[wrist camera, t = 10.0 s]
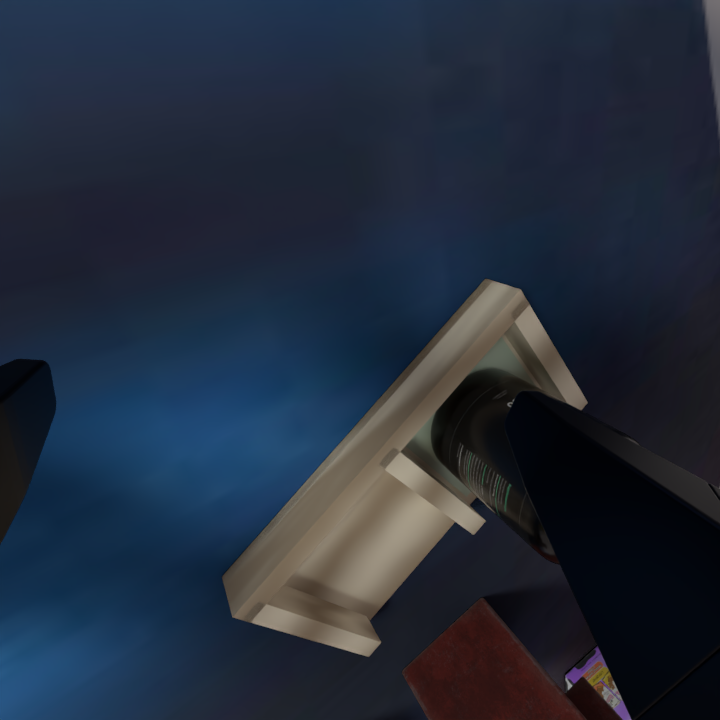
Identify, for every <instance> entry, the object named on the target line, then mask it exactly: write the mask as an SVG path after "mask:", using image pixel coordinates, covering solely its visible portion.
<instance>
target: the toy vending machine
mask: <svg viewBox="0 0 720 720" xmlns="http://www.w3.org/2000/svg"><path fill="white" fill-rule="evenodd" d="M402 674H403V676H404V677H405V679H406V681H407V683H408V685H409V686H410V688H411V690H412V692H413V693H414V695H415V697H416V699H417V701H418V702H419V704H420V706H421V708H422V709H423V711H424V713H425V715H426V717H427V718H428V720H623V719H622V718H621V717H620V716H619V715H618V714H617V713H616V712H615V710H614V709H613V708H612V707H611V706H610V705H609V704H608V703H607V702H606V701H605V699H604V698H603V697H602V696H601V695H600V694H599V693H598V692H597V691H596V690H595V689H594V687H593V686H592V685H591V684H590V683H589V682H588V681H587V680H586V679H585V678H584V677H583V676H582V677H581V678H580V679H579V680H578V681H577V682H576V683H575V684H574V685H573V686H572V687H571V688H570V689H569V690H568V691H567V692H566V693H564V692H563V691H562V690H561V688H560V687H559V686H558V685H557V684H556V683H555V681H554V680H553V679H552V678H551V677H550V676H549V674H548V673H547V672H546V671H545V670H544V668H543V667H542V666H541V665H540V664H539V663H538V661H537V660H536V659H535V658H534V657H533V655H532V654H531V653H530V652H529V651H528V650H527V648H526V647H525V646H524V645H523V644H522V643H521V641H520V640H519V639H518V638H517V637H516V635H515V634H514V633H513V632H512V631H511V630H510V628H509V627H508V626H507V625H506V624H505V622H504V621H503V620H502V619H501V618H500V617H499V615H498V614H497V613H496V612H495V611H494V610H493V608H492V607H491V606H490V605H489V604H488V602H487V601H486V600H485V599H484V598H480V599H479V600H478V601H477V602H476V603H475V604H474V605H472V606H471V607H470V608H469V609H468V610H467V611H466V612H465V613H464V614H463V615H462V616H461V617H459V618H458V619H457V620H456V621H455V622H454V623H453V624H452V625H451V626H450V627H449V628H448V629H447V630H445V631H444V632H443V633H442V634H441V635H440V636H439V637H438V638H437V639H436V640H435V641H434V642H432V643H431V644H430V645H429V646H428V647H427V648H426V649H425V650H424V651H423V652H422V653H421V654H419V655H418V656H417V657H416V658H415V659H414V660H413V661H412V662H411V663H410V664H409V665H408V666H407V667H405V668H404V669H403V671H402Z"/></svg>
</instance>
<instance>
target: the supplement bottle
mask: <svg viewBox="0 0 720 720" xmlns="http://www.w3.org/2000/svg"><path fill="white" fill-rule="evenodd" d="M523 390H528V391H539V392H541V393H543V394H545V395H547V396H549V397H550V398H552V399H554V400H556V401H558V402H560V403H562V404H563V405H565V406H567V407H569V408H571V409H573V410H575V411H576V412H578V413H580V414H582V415H584V416H586V417H587V418H589V419H591V420H593V421H595V422H597V423H599V424H600V425H602V426H604V427H606V428H608V429H610V430H612V431H613V432H615V433H617V434H619V435H621V436H623V437H625V438H626V439H628V440H630V441H632V442H634V443H636V444H637V445H639V446H641V445H640V444H639V443H638V442H637V441H636V440H634V439H633V438H631V437H630V436H628V435H626V434H625V433H623V432H621V431H619V430H617V429H615V428H613V427H612V426H610V425H608V424H606V423H604V422H602V421H600V420H598V419H596V418H595V417H593V416H591V415H589V414H587V413H585V412H583V411H581V410H579V409H578V408H576V407H574V406H572V405H570V404H568V403H566V402H564V401H562V400H561V399H559V398H557V397H555V396H553V395H551V394H549V393H547V392H545V391H544V390H542V389H540V388H538V387H536V386H534V385H532V384H530V383H528V382H527V381H525V380H523V379H521V378H519V377H517V376H515V375H513V374H511V373H509V372H507V371H504V370H501V369H492V368H491V369H483V370H479V371H476V372H473V373H471V374H469V375H467V376H466V377H465V379H464V380H463V381H462V382H461V383H460V384H459V385H458V387H457V388H456V389H455V390H454V391H453V392H452V393H451V395H450V396H449V397H448V398H447V399H446V400H445V401H444V402H443V404H442V405H441V406H440V407H439V408H438V409H437V410H436V412H435V415H434V417H433V421H432V425H431V444H432V449H433V452H434V454H435V456H436V457H437V459H438V460H439V461H440V463H441V464H442V465H443V466H444V467H445V468H446V469H447V470H449V471H450V472H451V473H452V474H453V475H454V476H455V477H456V478H457V479H458V480H459V481H460V482H461V483H462V484H463V485H465V486H466V487H467V488H468V489H469V490H470V491H471V492H472V493H473V494H474V495H475V496H477V497H478V498H479V499H480V500H481V501H482V502H483V503H484V504H485V505H486V506H487V507H488V508H490V509H491V510H492V511H493V512H494V513H495V514H496V515H497V516H498V517H499V518H500V519H501V520H503V521H504V522H505V523H506V524H507V525H508V526H509V527H510V528H511V529H512V530H513V531H515V532H516V533H517V534H518V535H519V536H520V537H521V538H522V539H523V540H524V541H525V542H526V543H528V544H529V545H530V546H531V547H532V548H533V549H534V550H535V551H537V552H538V553H539V554H540V555H541V556H543V557H544V558H545V559H546V560H548V561H550V562H552V563H555V564H558V565H560V563H559V561H558V559H557V557H556V555H555V553H554V550H553V548H552V546H551V544H550V542H549V540H548V537H547V535H546V533H545V531H544V529H543V527H542V524H541V522H540V520H539V518H538V516H537V514H536V511H535V509H534V507H533V505H532V503H531V501H530V498H529V496H528V494H527V491H526V489H525V486H524V484H523V481H522V478H521V475H520V472H519V469H518V466H517V464H516V461H515V458H514V455H513V452H512V449H511V446H510V443H509V440H508V438H507V435H506V432H505V427H504V424H505V419H506V416H507V414H508V412H509V410H510V408H511V406H512V404H513V401H514V399H515V397H516V395H517V394H518V393H519V392H520V391H523ZM641 447H642V446H641Z"/></svg>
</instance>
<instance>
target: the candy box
mask: <svg viewBox="0 0 720 720" xmlns="http://www.w3.org/2000/svg"><path fill="white" fill-rule="evenodd" d="M582 676H583V677H584V678H585V679H586V680H587V681H588V682H589V683H590V684H591V685H592V686H593V687H594V689H595V690H596V691H597V692H598V693H599V694H600V695H601V696H602V697H603V698H604V699H605V701H606V702H607V703H608V704H609V705H610V706H611V707H612V708H613V709H614V710H615V712H616V713H617V714H618V715H619V716H620V717H621V718H622V719H623V720H632V719H631V718H630V715H629V713H628V711H627V709H626V707H625V705H624V702H623V700H622V698H621V696H620V694H619V691H618V689H617V687H616V685H615V683H614V681H613V678H612V676H611V674H610V672H609V670H608V668H607V665H606V663H605V661H604V659H603V657H602V655H601V652H600V650H599V648H598V646H597V647H596V648H595V649H593V650H592V651H591V652H590V653H589V654H588V655H587V656H586V657H585V658H584V659H583V660H581V661H580V662H579V663H578V664H577V665H576V666H574V667H573V668H572V669H571V670H570V672H568V673H567V674H566V675H565V677H566V678H565V682H566V692H567V691H568V690H569V689H570V688H571V687H572V686H573V685H574V684H575V683H576V682H577V681H578V680H579V679H580V678H581V677H582Z"/></svg>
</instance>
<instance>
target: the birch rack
mask: <svg viewBox="0 0 720 720" xmlns="http://www.w3.org/2000/svg"><path fill="white" fill-rule="evenodd" d="M491 368H492V369H501V370H504V371H507V372H509V373H511V374H513V375H515V376H517V377H519V378H521V379H523V380H525V381H527V382H528V383H530V384H532V385H534V386H536V387H538V388H540V389H542V390H544V391H545V392H547V393H549V394H551V395H553V396H555V397H557V398H559V399H561V400H562V401H564V402H566V403H568V404H570V405H572V406H574V407H576V408H578V409H579V410H582V409H583V408H584V407H585V405H586V404H587V403H588V402H587V400H586V399H585V397H584V395H583V394H582V392H581V390H580V388H579V387H578V385H577V383H576V382H575V380H574V378H573V377H572V375H571V373H570V372H569V370H568V368H567V367H566V365H565V363H564V362H563V360H562V358H561V356H560V355H559V353H558V351H557V350H556V348H555V346H554V345H553V343H552V341H551V340H550V338H549V336H548V335H547V333H546V331H545V330H544V328H543V326H542V325H541V323H540V321H539V319H538V318H537V316H536V314H535V313H534V311H533V309H532V308H531V306H530V304H529V303H528V301H527V299H526V298H525V296H524V294H523V293H522V291H521V289H518V288H514V287H511V286H508V285H505V284H502V283H498V282H495V281H492V280H489V279H485V280H484V281H483V282H482V283H481V284H480V285H479V286H478V288H477V289H476V290H475V291H474V292H473V293H472V294H471V295H470V297H469V298H468V299H467V300H466V301H465V302H464V303H463V305H462V306H461V307H460V308H459V309H458V310H457V311H456V312H455V314H454V315H453V316H452V317H451V318H450V319H449V320H448V321H447V323H446V324H445V325H444V326H443V327H442V328H441V329H440V331H439V332H438V333H437V334H436V335H435V336H434V337H433V338H432V340H431V341H430V342H429V343H428V344H427V345H426V346H425V348H424V349H423V350H422V351H421V352H420V353H419V354H418V355H417V357H416V358H415V359H414V360H413V361H412V362H411V363H410V364H409V366H408V367H407V368H406V369H405V370H404V371H403V372H402V374H401V375H400V376H399V377H398V378H397V379H396V380H395V381H394V383H393V384H392V385H391V386H390V387H389V388H388V389H387V390H386V392H385V393H384V394H383V395H382V396H381V397H380V398H379V400H378V401H377V402H376V403H375V404H374V405H373V406H372V407H371V409H370V410H369V411H368V412H367V413H366V414H365V415H364V416H363V418H362V419H361V420H360V421H359V422H358V423H357V424H356V426H355V427H354V428H353V429H352V430H351V431H350V432H349V433H348V435H347V436H346V437H345V438H344V439H343V440H342V441H341V442H340V444H339V445H338V446H337V447H336V448H335V449H334V450H333V452H332V453H331V454H330V455H329V456H328V457H327V458H326V459H325V461H324V462H323V463H322V464H321V465H320V466H319V467H318V469H317V470H316V471H315V472H314V473H313V474H312V475H311V476H310V478H309V479H308V480H307V481H306V482H305V483H304V484H303V485H302V487H301V488H300V489H299V490H298V491H297V492H296V493H295V495H294V496H293V497H292V498H291V499H290V500H289V501H288V502H287V504H286V505H285V506H284V507H283V508H282V509H281V510H280V511H279V513H278V514H277V515H276V516H275V517H274V518H273V519H272V521H271V522H270V523H269V524H268V525H267V526H266V527H265V528H264V530H263V531H262V532H261V533H260V534H259V535H258V536H257V537H256V539H255V540H254V541H253V542H252V543H251V544H250V545H249V547H248V548H247V549H246V550H245V551H244V552H243V553H242V554H241V556H240V557H239V558H238V559H237V560H236V561H235V562H234V563H233V565H232V566H231V567H230V568H229V569H228V570H227V571H226V573H225V574H224V575H223V576H222V579H223V583H224V587H225V591H226V595H227V599H228V602H229V606H230V610H231V614H232V617H233V618H237V619H240V620H244V621H247V622H250V623H254V624H257V625H261V626H264V627H268V628H271V629H275V630H278V631H281V632H285V633H288V634H292V635H295V636H299V637H302V638H306V639H309V640H312V641H316V642H319V643H323V644H326V645H330V646H333V647H336V648H340V649H343V650H347V651H350V652H354V653H357V654H361V655H364V656H367V657H369V656H370V655H371V654H372V653H373V651H374V650H375V649H376V648H377V647H378V646H379V644H380V643H381V641H380V639H379V637H378V636H377V634H376V632H375V630H374V628H373V627H372V625H371V623H370V620H371V619H372V617H373V616H374V615H375V614H376V613H377V612H378V611H379V609H380V608H381V607H382V606H383V605H384V604H385V602H386V601H387V600H388V599H389V598H390V597H391V595H392V594H393V593H394V592H395V591H396V590H397V589H398V587H399V586H400V585H401V584H402V583H403V582H404V580H405V579H406V578H407V577H408V576H409V575H410V574H411V572H412V571H413V570H414V569H415V568H416V567H417V565H418V564H419V563H420V562H421V561H422V560H423V559H424V557H425V556H426V555H427V554H428V553H429V552H430V550H431V549H432V548H433V547H434V546H435V545H436V543H437V542H438V541H439V540H440V539H441V538H442V537H443V535H444V534H445V533H446V532H447V531H448V530H449V528H450V527H451V526H452V525H453V524H454V523H455V522H457V523H458V524H459V525H461V526H462V527H463V528H465V529H466V530H467V531H469V532H470V533H471V534H473V535H474V534H475V533H476V532H477V531H478V530H479V528H480V527H481V526H482V525H483V524H484V523H485V520H484V519H483V518H482V517H481V516H480V515H479V514H478V513H477V512H476V511H475V510H474V509H473V508H472V507H471V506H470V504H471V503H472V502H473V501H474V500H475V498H476V497H477V496H475V495H474V494H473V493H472V492H471V491H470V490H469V489H468V488H467V487H466V486H465V485H463V484H462V483H461V482H460V481H459V480H458V479H457V478H456V477H455V476H454V475H453V474H452V473H451V472H450V471H449V470H447V469H446V468H445V467H444V466H443V465H442V464H441V463H440V461H439V460H438V459H437V457H436V456H435V454H434V452H433V449H432V444H431V425H432V421H433V417H434V415H435V412H436V410H437V409H438V408H439V407H440V406H441V405H442V404H443V402H444V401H445V400H446V399H447V398H448V397H449V396H450V395H451V393H452V392H453V391H454V390H455V389H456V388H457V387H458V385H459V384H460V383H461V382H462V381H463V380H464V379H465V377H466V376H467V375H469V374H471V373H473V372H476V371H479V370H483V369H491Z"/></svg>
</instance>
